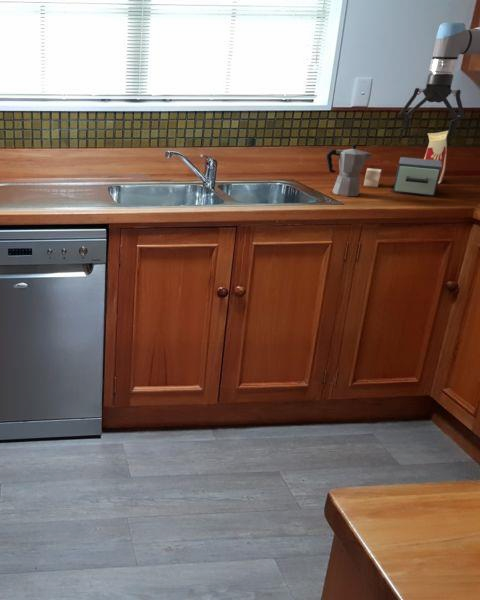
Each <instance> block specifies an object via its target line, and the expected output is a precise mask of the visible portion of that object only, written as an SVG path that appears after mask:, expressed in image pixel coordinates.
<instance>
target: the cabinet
mask: <svg viewBox="0 0 480 600" xmlns="http://www.w3.org/2000/svg"><path fill="white" fill-rule="evenodd" d="M400 166H407V167H418V168H429V169H438V170H439V173H438V177H437V182H436V186H435V190H434V194H433V195H430V194H420V193H411V192H402V191H395V187H396V182H397V178H398V173H399V169H400ZM441 168H442V164H441V160H429V159H424V158H416V157H403V156H400V158H399V162H398V164H397V170H396V173H395V174H396V175H395V180H394V184H393V189H392V193H394V194H403V195H411V196H421V197H432V198H434V197H436V192H437V188H438V181H439V177H440V172H441Z"/></svg>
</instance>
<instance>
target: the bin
mask: <svg viewBox="0 0 480 600" xmlns="http://www.w3.org/2000/svg"><path fill="white" fill-rule="evenodd" d="M438 173H439V170H438V169H429V168H418V167H407V166H400V169H399V173H398V178H397V182H396V187H395V191H402V192H411V193H420V194H430V195H433V194H434V190H435V186H436V182H437V177H438Z"/></svg>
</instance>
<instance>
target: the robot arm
mask: <svg viewBox="0 0 480 600" xmlns="http://www.w3.org/2000/svg"><path fill="white" fill-rule="evenodd" d="M460 55H471V56H475V55H476V56H480V27H474V28H469V29H467V28H466V23H465V22H444V23H441V24H440V25H439V28H438V31H437V33H436V37H435V44H434V47H433V53H432V58H431V60H430V66H429V69H428V71H429V72H430V73H428V75H427V79H426V84H425V87H424V88H420V87H415V88H414V91H413V94H412V95H411V96H410V98H409V100H408V101H407V103H406V104H405V105H404V106H403V107H402V109H401V111H400V112H399V115H400V116H401V117H403V118H404V119H403V123H402V128H405V131H404V135H403V138H407V137H408V133H409V127H410V123H411V118H412V117H411V115H412V114H414V113H415V112H416V111H417V110H419V108H421V107H422V106H423V105H424V104H426V102H429V103H438V104H439V103H442V102H443V104H444V105H445V107H446V108H447V111H448V112H449V114H450V116H452V117H451V118H452V119H451V120H450V123H449V128H448V133H447V136H446V141H450V140H451V135H452V131H456V130H457V126H458V123H459V121H461V120H464V119H465V118H466V114H465V111H464V108H463V103H462V100H461V89H460V88H458V89H452V84H453V82H454V81H453V80H454V77H455V76H454V73H455V72H456V68H457V64H458V59H459V56H460ZM422 93H423V95H424V97H423V98H422V99H421V100H420V101H419V102H417V104H415V105H414V106H413V107H412V108H411V109H410V110H408V109H409V108H410V106H411V105H412V103H413V102H414V101H415V100H416V98H417V96H419V95H421V94H422ZM451 94H452V96H453V97H455V101H456V105H457V108H458V112H459V113H458V114H459V115H458V114H457V113H456V111H455V110H454V108H453V106H452V105H451V103H450V101H449V100H448V98H449V96H450V95H451ZM407 110H408V112H406V111H407Z"/></svg>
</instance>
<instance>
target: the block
mask: <svg viewBox="0 0 480 600" xmlns="http://www.w3.org/2000/svg"><path fill="white" fill-rule="evenodd" d="M381 175H382V168H381V169H380V168H370V167H367V168H366V172H365V176H364V182H363V186H364V187H374V188H378V187H379V185H380V179H381Z"/></svg>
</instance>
